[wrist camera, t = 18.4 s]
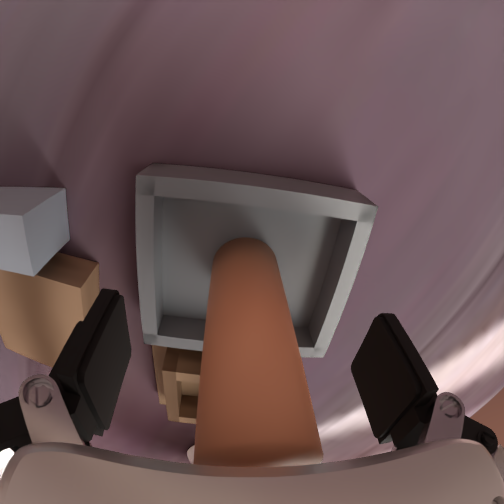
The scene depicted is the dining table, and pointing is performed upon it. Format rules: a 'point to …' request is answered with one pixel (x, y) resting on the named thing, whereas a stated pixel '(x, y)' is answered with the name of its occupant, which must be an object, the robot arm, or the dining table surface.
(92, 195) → the dining table surface
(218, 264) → the dowel
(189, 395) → the holder
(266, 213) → the tray
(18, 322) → the tan wooden block
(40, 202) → the gray rectangular block
